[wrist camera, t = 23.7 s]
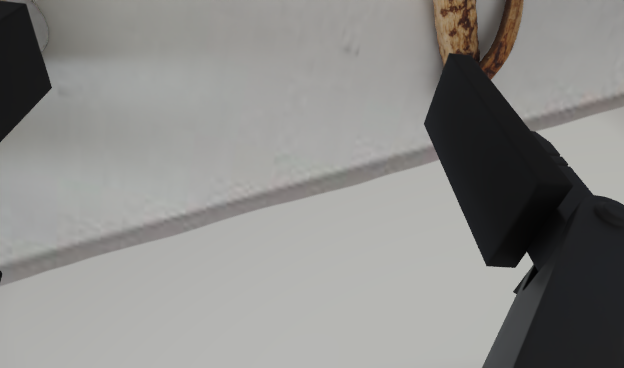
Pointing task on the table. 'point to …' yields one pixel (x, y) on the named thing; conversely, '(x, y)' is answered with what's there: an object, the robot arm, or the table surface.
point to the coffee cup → (36, 22)
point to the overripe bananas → (475, 32)
